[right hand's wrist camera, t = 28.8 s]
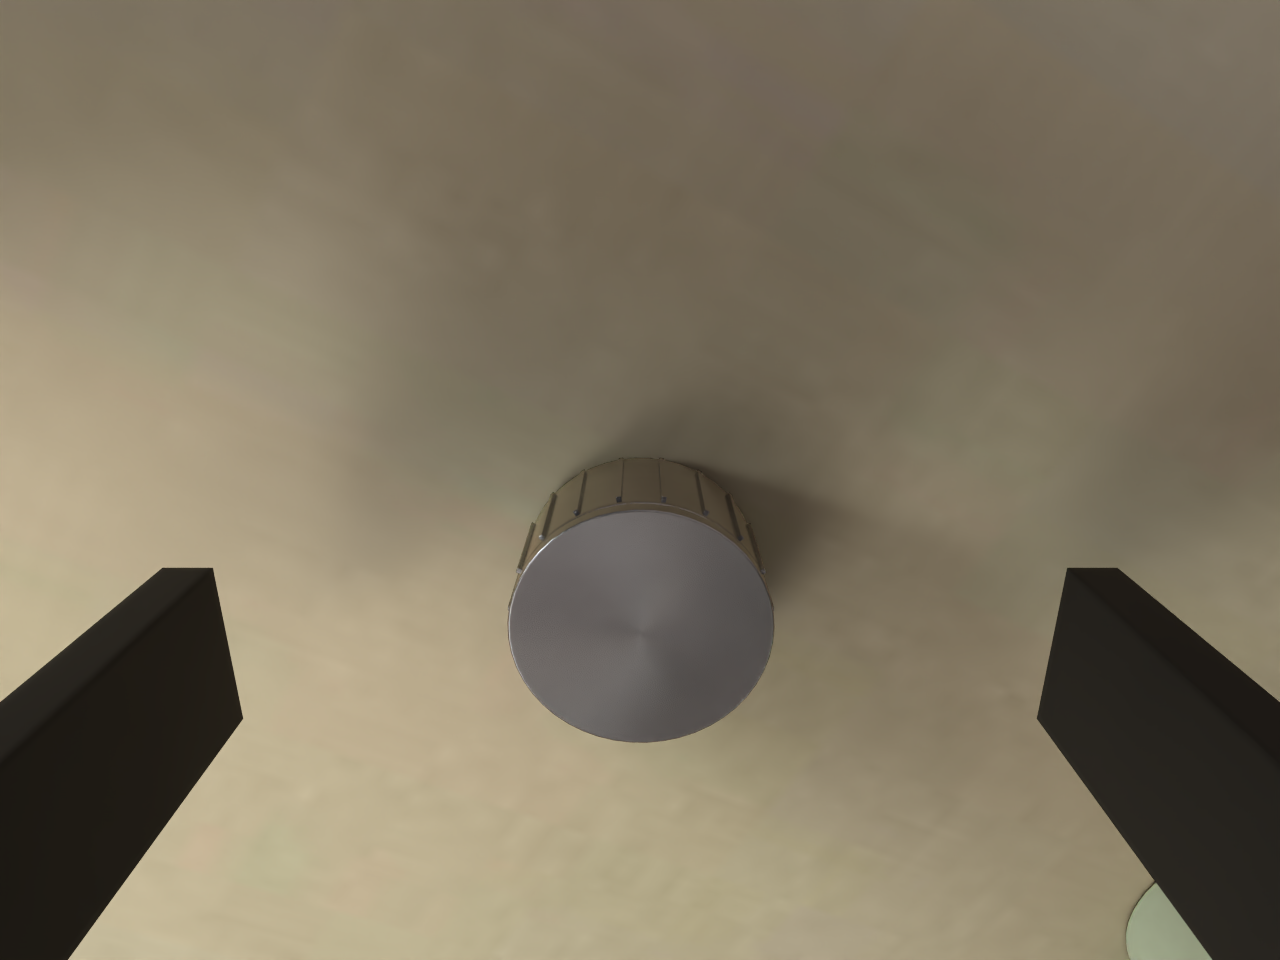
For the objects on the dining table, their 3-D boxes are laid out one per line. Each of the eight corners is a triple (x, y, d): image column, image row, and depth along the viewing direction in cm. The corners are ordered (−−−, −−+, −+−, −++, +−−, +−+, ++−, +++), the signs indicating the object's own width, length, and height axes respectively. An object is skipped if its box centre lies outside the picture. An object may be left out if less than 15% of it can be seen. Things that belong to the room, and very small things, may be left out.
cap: (520, 654, 17) (500, 736, 14) (528, 444, 15) (507, 495, 13) (740, 671, 17) (757, 754, 14) (771, 463, 15) (796, 518, 13)
